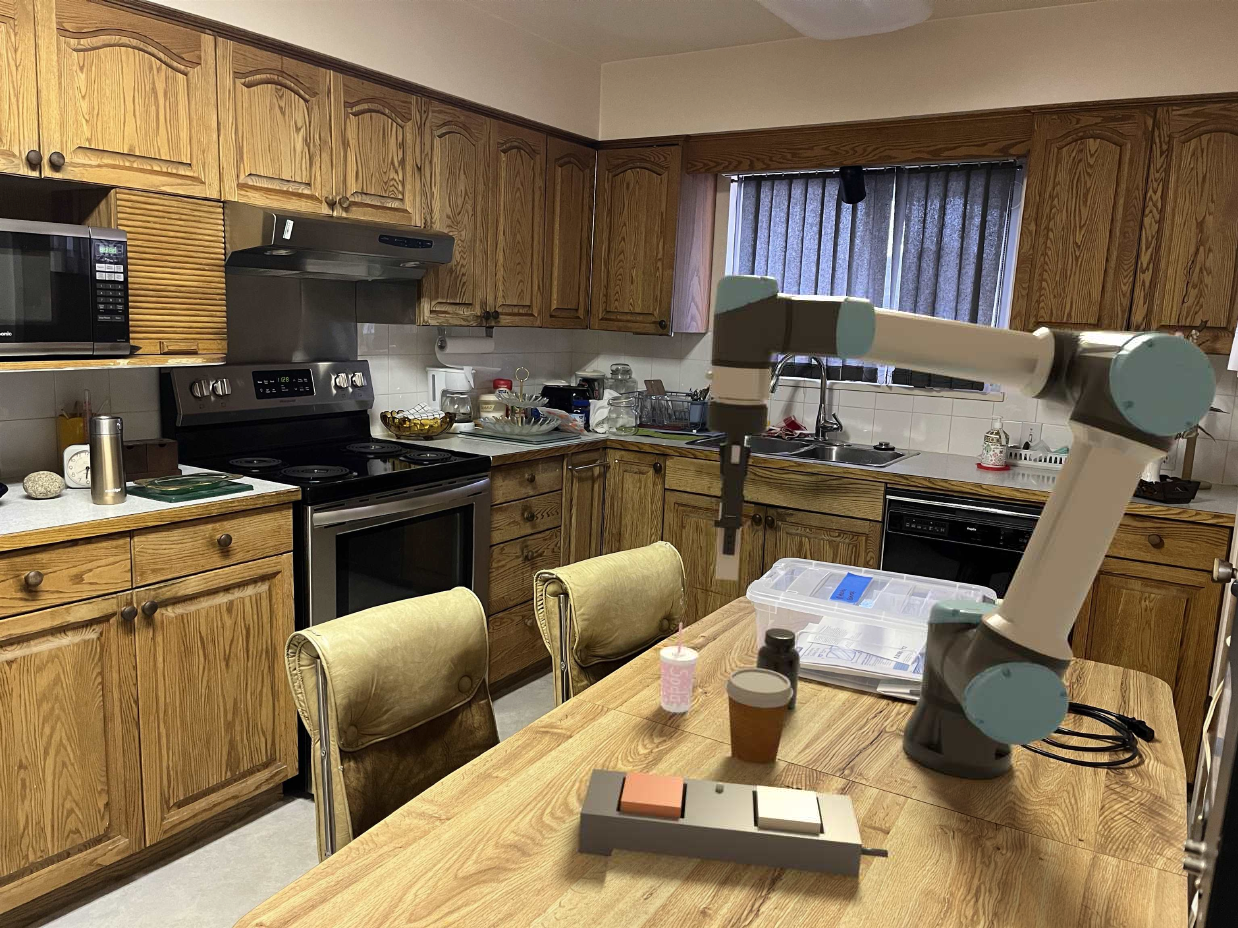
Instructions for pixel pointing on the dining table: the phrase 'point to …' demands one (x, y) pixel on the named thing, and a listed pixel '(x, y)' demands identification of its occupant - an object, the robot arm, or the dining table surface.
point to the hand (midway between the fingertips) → (726, 563)
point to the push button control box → (721, 828)
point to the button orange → (652, 794)
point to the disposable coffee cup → (757, 713)
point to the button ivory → (786, 809)
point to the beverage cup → (677, 676)
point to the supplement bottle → (781, 657)
